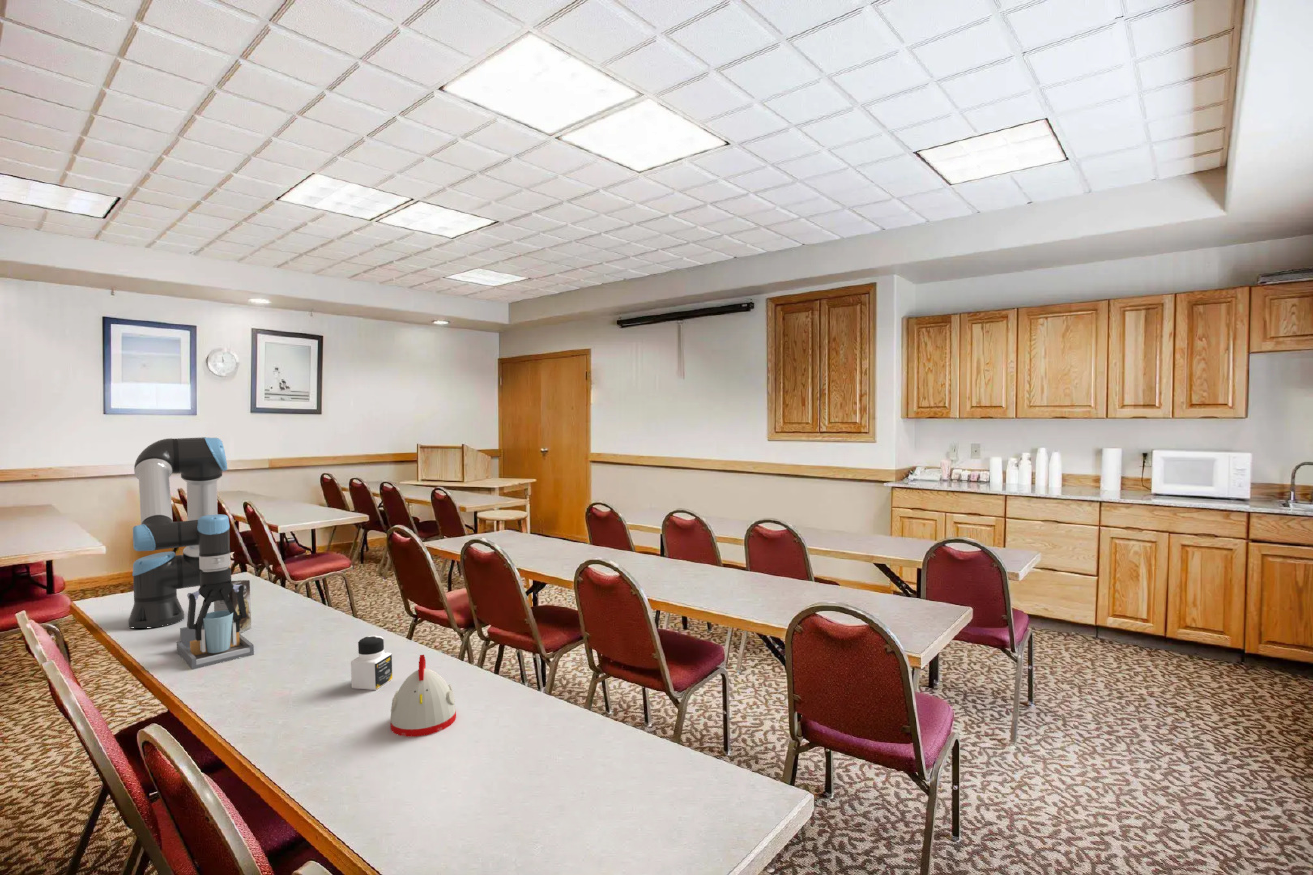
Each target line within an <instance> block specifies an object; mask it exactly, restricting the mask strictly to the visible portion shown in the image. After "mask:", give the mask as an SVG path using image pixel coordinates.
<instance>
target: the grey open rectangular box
mask: <svg viewBox="0 0 1313 875" xmlns="http://www.w3.org/2000/svg"><path fill="white" fill-rule="evenodd" d="M202 627H203V625H202ZM179 635H180V636H179V637H180V640H179V641H177V642H176V654H177V655H179V657H180V658H181V659H182V658H183V659H182V660H183V661H184V662H185V663H186V664H187V666H188V667H189V668H190V669H191V670H195V669H200V668H204V666H205V667H208V666H212V665H216V663H217V664H221V663H224V662H223V661H225V662H230V661H233V659H234V660H236V658H238V659H240V658H239V657H242V658H245V657H249V656H253V655H255V653H254V652H255V651H254V650H255V649H254V646H255V645H254V643H253V642H251V641H250V640H249V639H247V638H246V637H245V636H244V635H242V633H239V639H240V645H238V646H234V647H230V648H229V649H228V650H226V651H223V652H219V653H204V654H199V655H195V656H194V655H193V654H192V653H191V652H190V641H193V640H196V639H195V629H189V628H188V627H187V626H184V627H179ZM220 662H221V663H220Z"/></svg>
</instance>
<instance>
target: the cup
mask: <svg viewBox="0 0 1313 875" xmlns="http://www.w3.org/2000/svg"><path fill="white" fill-rule="evenodd" d="M232 620H233V613H232V614H230V612H229V610H223V611H215V612H214V611H210V612H207V614H206V617H205V618H203V621H204V622H203V628H204V629H205V642H206V648H207V652H208V653H219V652H223V651H226V650H228V649H229V648H230V641H231V631H232Z"/></svg>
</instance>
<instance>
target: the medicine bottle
mask: <svg viewBox="0 0 1313 875" xmlns="http://www.w3.org/2000/svg"><path fill="white" fill-rule="evenodd" d="M357 644H358V646H357V647H358V649H357V650H358V651H357V653H358V656H357V657H356V658H354V659H352V660H351V661H350V673H351V674H350V677H351V678H350V679H351V688H352V689H357V690H358V689H359V690H367V691H377V690H378V689H380V688H381V687H383V686H384V685H386V684H387V683H389V682H390V681H392V680H393V660H392V659H393V654H392V652H385V640H384V638H383V637H382V636H381V635H369V636H365V637H363V638H361V639H359V641H358V642H357Z"/></svg>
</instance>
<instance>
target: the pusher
mask: <svg viewBox="0 0 1313 875" xmlns="http://www.w3.org/2000/svg"><path fill="white" fill-rule="evenodd" d="M236 642H237V645H233V644H231V641H230V647H234V646H238V645H240V639H239V632H237V633H236ZM205 648H206V642H205ZM190 652H191V653H192V654H193V655H194V656H195V655H199V654H204V653H208V652H207V648H206V652H202V651H201V650H200V641H197V640H193V641H190Z"/></svg>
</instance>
